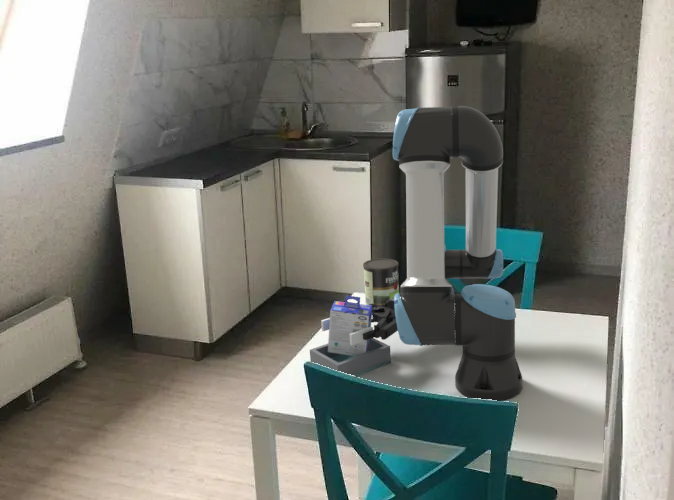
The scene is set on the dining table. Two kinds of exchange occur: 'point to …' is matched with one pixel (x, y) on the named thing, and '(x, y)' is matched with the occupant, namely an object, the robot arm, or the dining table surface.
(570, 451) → the dining table surface
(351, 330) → the ink cartridge box
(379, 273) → the coffee can
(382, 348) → the walled box
